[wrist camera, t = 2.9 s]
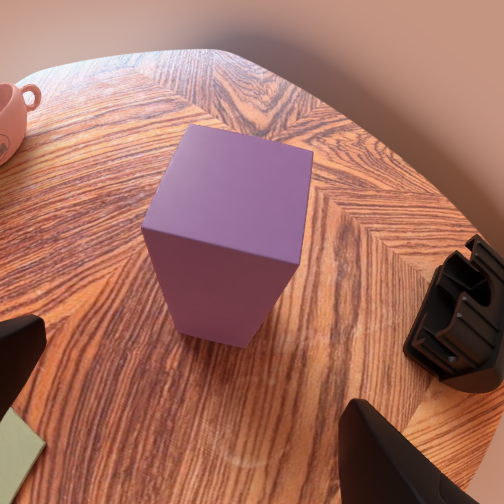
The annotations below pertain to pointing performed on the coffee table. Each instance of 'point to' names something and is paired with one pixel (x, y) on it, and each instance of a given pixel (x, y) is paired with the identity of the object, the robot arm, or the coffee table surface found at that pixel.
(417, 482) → the robot arm
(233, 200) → the block
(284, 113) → the coffee table surface
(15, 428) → the mat
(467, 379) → the end cap
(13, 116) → the mug
